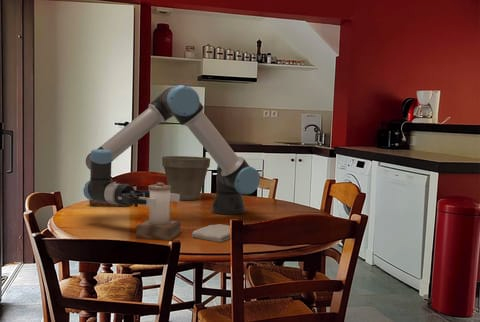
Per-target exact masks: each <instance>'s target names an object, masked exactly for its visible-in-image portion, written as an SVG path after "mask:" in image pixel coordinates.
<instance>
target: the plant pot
mask: <svg viewBox="0 0 480 322" xmlns="http://www.w3.org/2000/svg"><path fill="white" fill-rule="evenodd" d="M161 163H162V167H163V169H164V174H165V178H166V182H167V183H166V184H167V185H170V186H171V189H170V193H173V194H180V201H195V200H199V199H200V196H201V192H202V191H203V190H202V189H203V186H204V183H205V180H206V176H207V172H208V169H209V168H210V166H211V158H210V157H205V156H204V157H203V156H187V155H185V156H184V155H170V156H169V155H168V156H167V155H166V156H162V157H161Z"/></svg>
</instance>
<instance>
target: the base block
mask: <svg viewBox="0 0 480 322" xmlns="http://www.w3.org/2000/svg"><path fill="white" fill-rule="evenodd" d="M180 233H181V221H179V220H169V224H166V225H152V224H149V218H148V219H146V220H145V221H143V222H141V223H140V224H137V225H136V239H137V238H138V239H148V240H162V241H163V240H164V241H172V240H173V239H174V238H175V237H177V236H178V235H179V234H180Z"/></svg>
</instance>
